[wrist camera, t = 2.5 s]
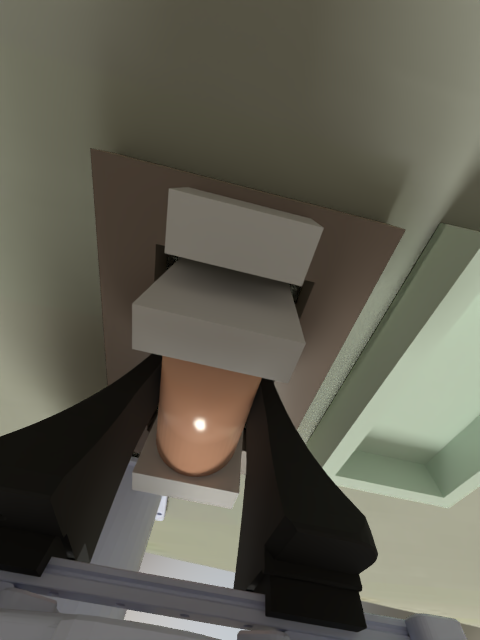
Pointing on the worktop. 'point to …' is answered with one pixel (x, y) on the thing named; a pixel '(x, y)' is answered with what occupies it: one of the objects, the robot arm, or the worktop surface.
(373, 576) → the worktop surface
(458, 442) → the parts tray
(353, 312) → the frame
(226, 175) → the worktop surface
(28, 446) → the robot arm
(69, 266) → the worktop surface
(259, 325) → the fuse
